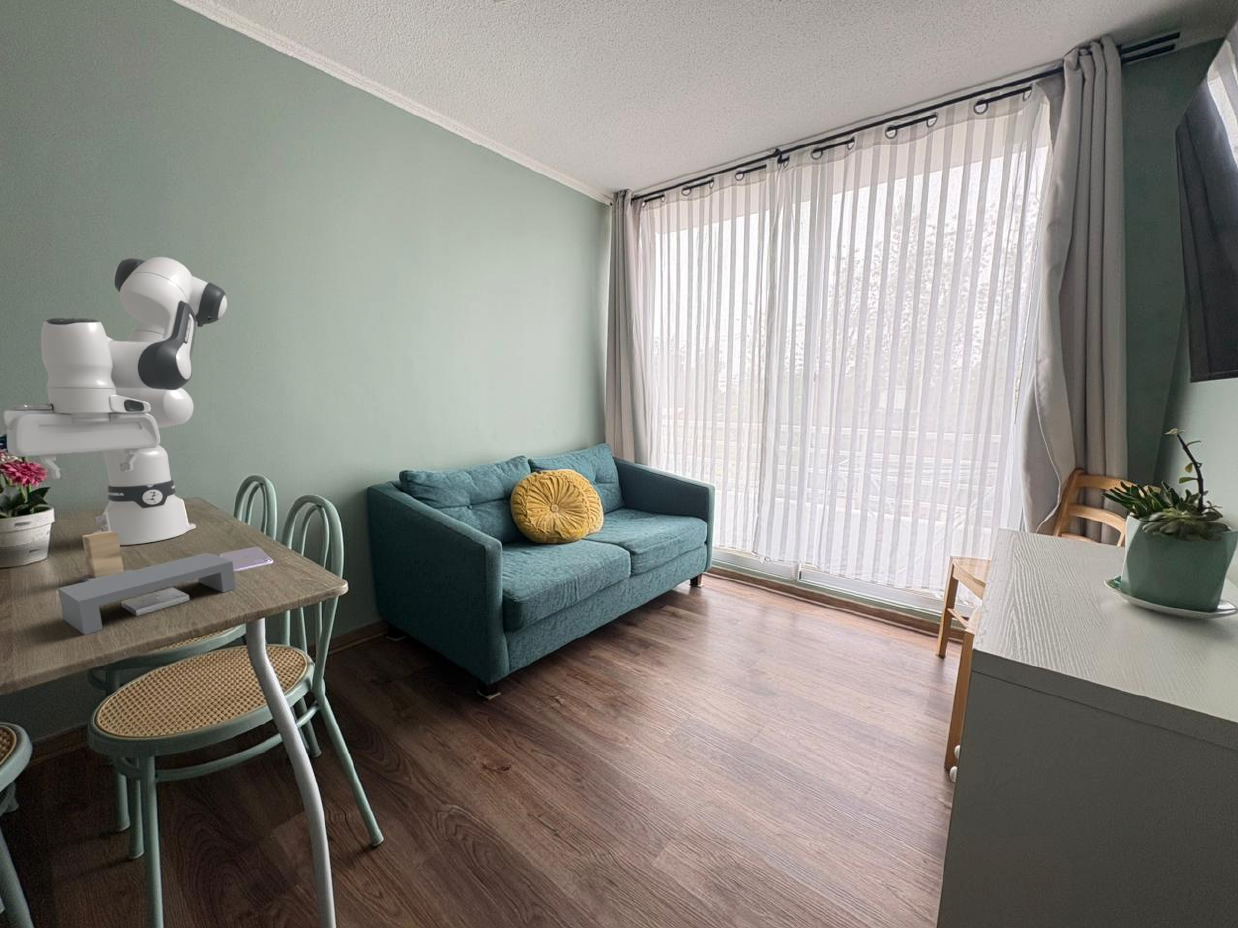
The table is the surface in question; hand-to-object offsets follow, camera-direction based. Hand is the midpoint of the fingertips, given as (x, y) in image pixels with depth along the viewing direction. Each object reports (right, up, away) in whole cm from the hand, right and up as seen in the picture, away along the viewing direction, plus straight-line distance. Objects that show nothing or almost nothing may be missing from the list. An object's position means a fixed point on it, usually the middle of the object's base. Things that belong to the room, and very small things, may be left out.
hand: (95, 475), depth 94 cm
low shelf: (+20, -23, -9) cm, 32 cm away
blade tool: (+5, -21, 0) cm, 22 cm away
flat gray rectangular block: (+20, -23, -9) cm, 32 cm away
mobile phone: (+19, -20, +14) cm, 31 cm away
